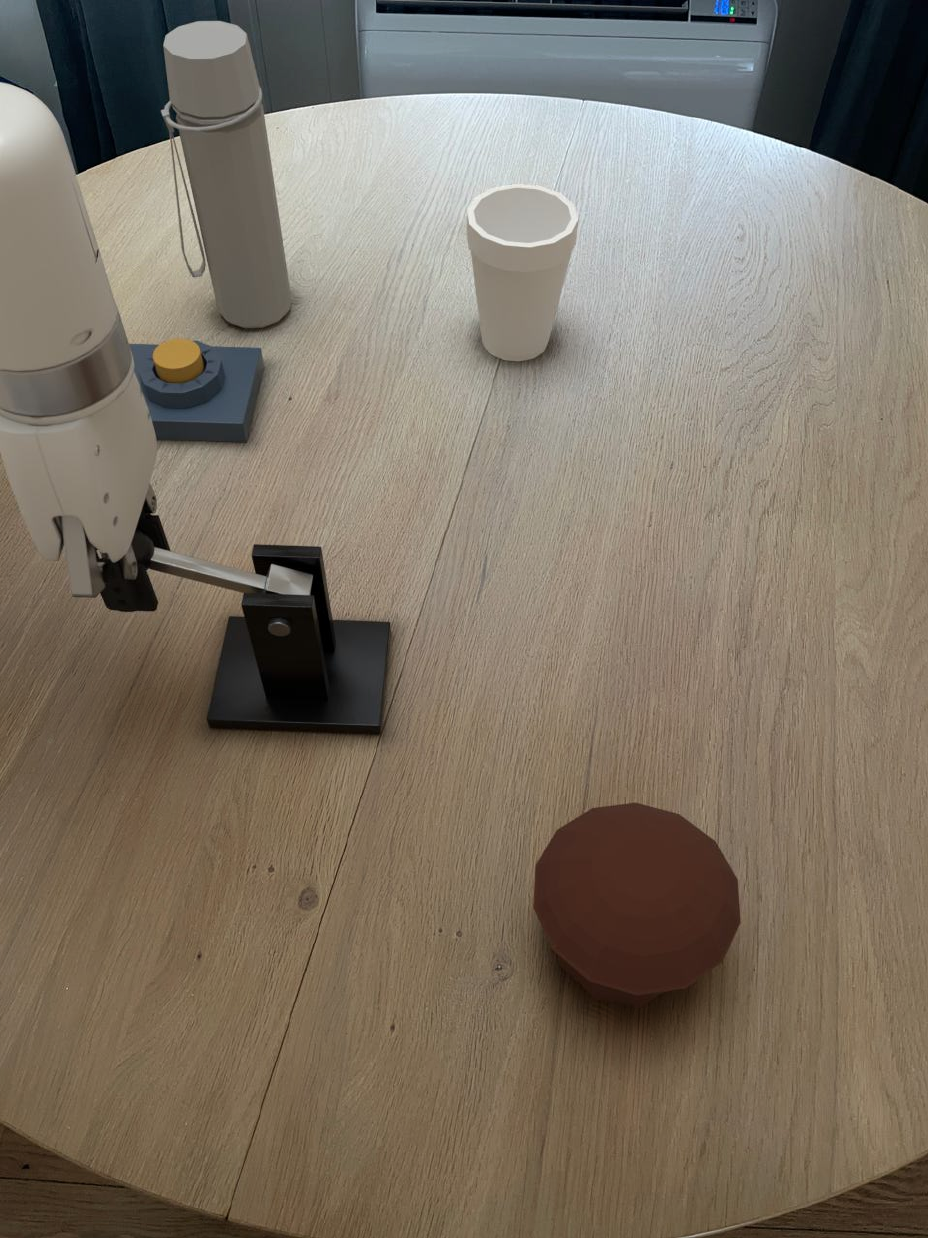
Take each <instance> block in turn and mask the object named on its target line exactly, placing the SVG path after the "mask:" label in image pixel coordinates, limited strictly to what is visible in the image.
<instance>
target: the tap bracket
mask: <svg viewBox="0 0 928 1238" xmlns="http://www.w3.org/2000/svg"><path fill="white" fill-rule="evenodd" d="M251 560H252V564H253V568H254V573H256V574H260V575H263V576H267V573H268V570H269V568H270V565H271V564H275V565H278V566H282V567H286V568H290V569H293V570H297V571H301V572H305V573H309V574H312V575H313V579H312V586H311V592H310V595H291V594H263V593H242V599H241V604H240V606H241V610H242V613H243V616H242V615H241V616H240V615H239V616H238V615H237V616H236V615H229V616H228V619H227V623H226V628H225V633H224V637H223V641H222V647H221V651H220V656H219V659H218V661H219V662H218V665H217V670H216V674H215V679H214V683H213V688H212V693H211V697H210V702H209V707H208V711H207V716H206V722H207V724H208V728H209V729H217V730H218V729H219V730H246V731H269V732H270V731H271V732H272V731H273V732H274V731H275V732H302V733H303V732H304V733H325V734H326V733H327V734H329V733H330V734H351V735H352V734H353V735H354V734H355V735H379V736H380V735H381V734H382V726H383V717H384V706H385V697H386V686H387V678H388V677H387V675H388V665H389V656H390V655H389V653H390V646H391V635H392V629H391V627H392V626H391V622H390V621H382V620H381V621H378V620H353V619H351V620H350V619H333V613H332V607H331V600H330V594H329V587H328V581H327V574H326V568H325V562H324V561H325V560H324V556H323V549H322V546H315V545H291V544H290V545H289V544H288V545H285V544H284V545H283V544H257V543H254V544H253V546H252V550H251Z"/></svg>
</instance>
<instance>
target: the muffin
mask: <svg viewBox="0 0 928 1238" xmlns="http://www.w3.org/2000/svg"><path fill="white" fill-rule="evenodd" d="M738 881H739V879H738V877H737V876H736V874H735V872H734V871H733V869H732V867H731V865H730V863H729V862H728V861H727V859H726V856H725V855H724V853H723V851H722V850H721V848H720V847H719V845H718V843H717V841H716V840H715V839H713V838H712V837H711V836H709V835H708V834H707V833H705V832H704V831H702V830H701V829H700V828H699V827H697V826H696V825H694V824H693V823H692V822H691V821H689V820H688V819H686V818H685V817H684V816H682V814H680V813H676V812H673V811H670V810H666V809H662V808H658V807H655V806H650V805H646V804H643V803H639V802H628V803H621V804H613V805H606V806H598V807H592V808H590V809H588V810H586V811H585V812H583V813H582V814H580V815H579V816H577V817H576V818H574V819H572V820H571V821H569V822H568V823H566V824H564V825H562V826H560V827H559V828H558V829H556V830H555V833H554V834H553V835H552V837H551V839H550V841H549V842H548V843H547V846H546V847H545V849H544V850H543V852H542V853H541V855H540V857H539V859H538V860H537V862H536V864H535V869H534V886H533V887H534V888H533V906H532V908H533V911H534V912H535V915H536V917H537V919H538V921H539V924H540V926H541V928H542V930H543V932H544V935H545V937H546V939H547V942H548V944H549V946H550V948H551V950H552V951H553V952H555V954H556V957H557V961H558V966H559V968H561V969H562V970H563V971H565V973H567V974H568V975H569V976H570V977H572V978H573V979H574V980H575V981H576V982H577V983H578V984H579V985H580V986H581V988H582V989H584V991H586V993H587V994H588V995H589V996H590V998H591V999H592V1000H594V1001H605V1002H617V1003H621V1004H625V1005H629V1006H632V1007H635V1008H639V1009H641V1008H642V1007H643V1006H646V1004H648V1003H650V1002H651V1001H652V1000H654V999H655V998H657V997H659V996H661V995H663V994H666V993H668V992H671V991H677V990H685V989H687V988H688V987H690V986H691V985H692V984H694V983H695V982H697V981H698V980H699V979H701V978H702V977H704V976H705V975H706V974H708V973H709V972H711V971H712V970H713V969H715V968H716V967H718V966H719V965H720V964H722V963H723V962H724V960H725V958H726V955H727V953H728V951H729V949H730V946H731V945H732V942H733V940H734V938H735V936H736V934H737V933H738V932H737V931H738V930H739V927H740V925H741V920H742V919H741V910H740V908H741V907H740V905H741V904H740V893H739V882H738Z"/></svg>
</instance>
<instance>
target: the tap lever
mask: <svg viewBox="0 0 928 1238" xmlns="http://www.w3.org/2000/svg"><path fill="white" fill-rule="evenodd" d="M131 545H132V548H133V551H134V555H135V558H136V561H137V563H139V564H142V565H145V568H146V570H147V571H148V570H151V571H156V572H160V573H164V574H167V575H171V576H175V577H179V578H183V579H186V580H191V581H194V582H195V581H196V582H198V583H203V584H207V585H211V586H215V587H218V588H222V589H226V590H228V591H229V590H230V591H234V592H237V593H242V594H244V593H263V594H291V595H310V592H311V586H312V579H313V575H312V574H309V573H305V572H301V571H297V570H293V569H290V568H286V567H282V566H278V565H275V564H271V565H270V568H269V570H268V573H267V576H263V575H260V574H256V573H255V572H252V571H248V570H244V569H240V568H237V567H233V566H229V565H226V564H221V563H217V562H213V561H209V560H206V559H202V558H198V557H194V556H190V555H188V554H183V553H180V552H179V553H178V552H176V551H168V550H164V549H160V548H156V547H154V544H153V541H152V540H151V538H150V537H149V535H148V534H147V533H146V532H144V531H143V530H141V529H139V528H137V527H136V530H135V533H134V536H133V539H132V542H131ZM100 556H101V557H100V558H107V557H108V554H107V553H101V552H100Z"/></svg>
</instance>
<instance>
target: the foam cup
mask: <svg viewBox="0 0 928 1238" xmlns="http://www.w3.org/2000/svg"><path fill="white" fill-rule="evenodd" d="M578 229H579V216H578V212H577V208H576V205H575V204H574V203H573V202H572V201H570V200H569V199H568V197H566V196H564V195H563V194H562V193H561V192H559V191H556V190H552V189H550V188H548V187H544V186H541V185H536V184H535V185H534V184H524V183H523V184H522V183H512V184H506V185H501V186H495V187H491V188H489V189H487V190H485V191H484V192H482V193H479V194H478V195H476V196H475V197H474V198H473V199H472V201H471V203H470V204H469V206H468V207H467V208H466V241H467V245H468V250H469V251H470V257H471V262H472V272H473V273H472V274H473V280H474V289H475V296H476V304H477V314H478V320H479V328H480V335H481V341H482V347H483V348H484V349H485V351H487V352H488V353H489V354H490V355H491V356H493V357H496V358H498V359H500V360H503V361H510V362H523V361H529V360H533V359H536V357H538V356H540V355H541V354H543V353H544V352H545V351H546V348H547V346H548V345H549V340H550V338H551V335H552V331H553V328H554V327H553V326H554V322H555V319H556V315H557V311H558V306H559V303H560V299H561V296H562V290H563V288H564V283H565V279H566V274H567V271H568V268H569V263H570V259H571V255H572V252H573V251H574V249H575V246H576V244H577V237H578Z"/></svg>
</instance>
